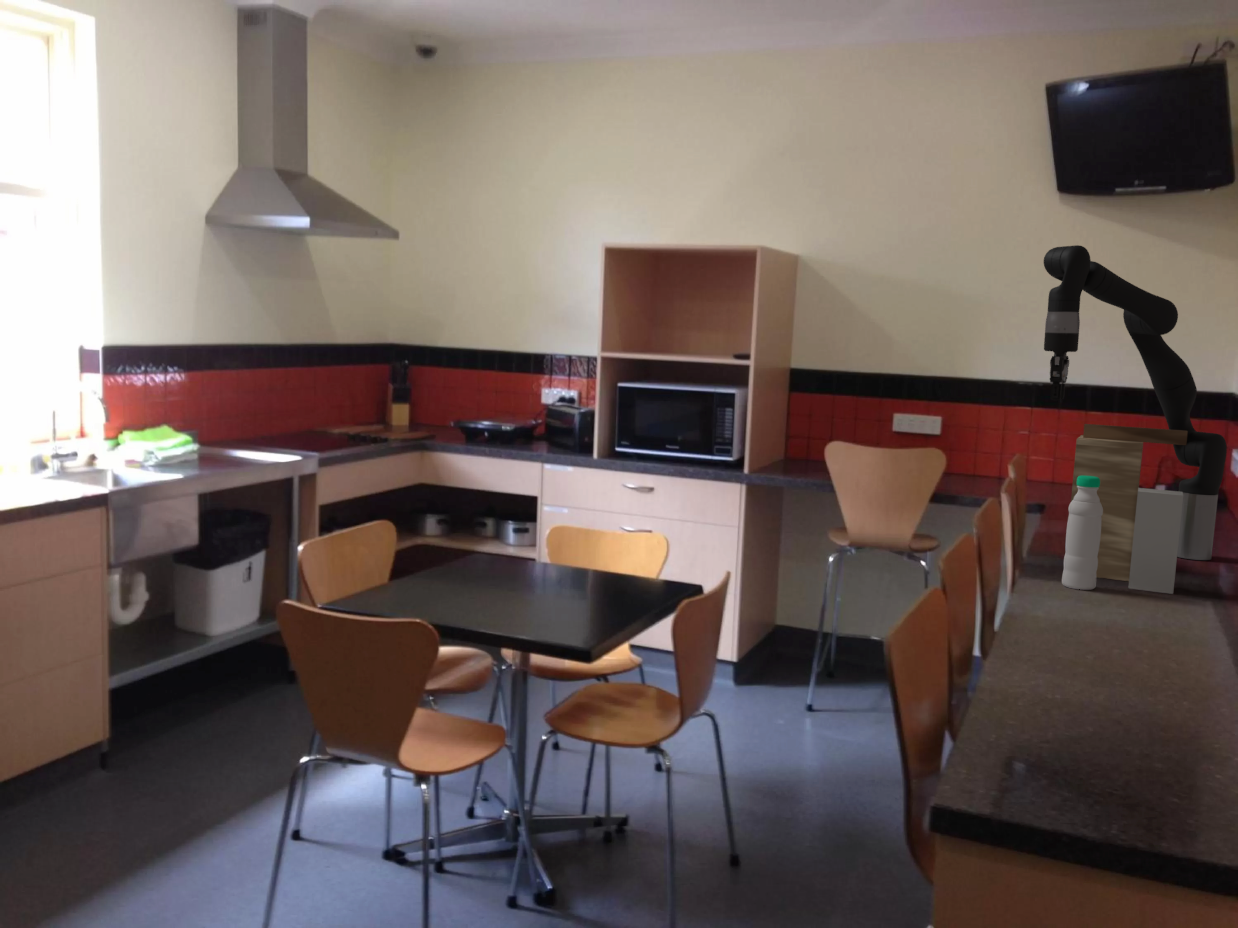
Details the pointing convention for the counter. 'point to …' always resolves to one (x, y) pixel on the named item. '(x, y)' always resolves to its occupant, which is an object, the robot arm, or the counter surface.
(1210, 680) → the counter surface
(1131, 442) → the wooden open box
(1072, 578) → the white bottle
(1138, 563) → the riser block
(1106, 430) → the batten
